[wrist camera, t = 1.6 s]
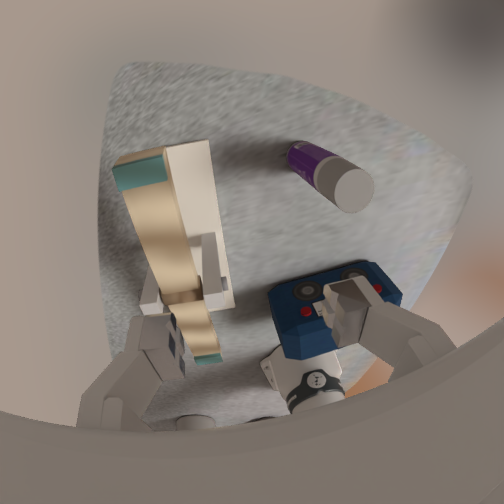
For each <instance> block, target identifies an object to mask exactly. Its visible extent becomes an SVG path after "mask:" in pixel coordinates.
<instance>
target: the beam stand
mask: <svg viewBox="0 0 504 504" xmlns="http://www.w3.org/2000/svg"><path fill="white" fill-rule="evenodd" d="M166 151H167V156H168V161H169V165H170V170H171V174H172V179H173V183H174V187H175V191H176V196H177V200H178V204H179V208H180V212H181V216H182V220H183V224H184V227H185V231H186V235H187V239H188V242H189V246H190V250H191V253H192V257H193V260H194V264H195V267H196V271H197V274H198V275H200V277H201V280H202V285H203V296H204V300H205V304H206V307H207V309H208V311H209V312H211V311H217V310H223V309H229V308H235V302H234V297H233V291H232V286H231V280H230V274H229V269H228V263H227V257H226V251H225V245H224V239H223V233H222V227H221V221H220V214H219V208H218V202H217V195H216V189H215V182H214V175H213V168H212V162H211V155H210V147H209V140H208V139H205V140H199V141H193V142H188V143H183V144H177V145H172V146H168V147H166ZM138 297H139V301H140V304H139V305H140V308H141V310H142V312H143V314H144V315H151V314H160V313H163V306H164V303H163V300H162V296H161V289H160V287H159V285H158V283H157V280H156V278H155V276H154V273H153V271H152V269H151V267H150V264H149V266H148V270H147V274H146V278H145V282H144V286H143V290H139V292H138Z"/></svg>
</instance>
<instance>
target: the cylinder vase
mask: <svg viewBox="0 0 504 504" xmlns="http://www.w3.org/2000/svg"><path fill="white" fill-rule="evenodd" d="M207 428H216V423H215V421H214V420H213V419H212V418H210V417H207V416H202V415H189V416H184V417H181V418H179V419H178V420H177V422H176V431H182V430H196V429H207Z"/></svg>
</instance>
